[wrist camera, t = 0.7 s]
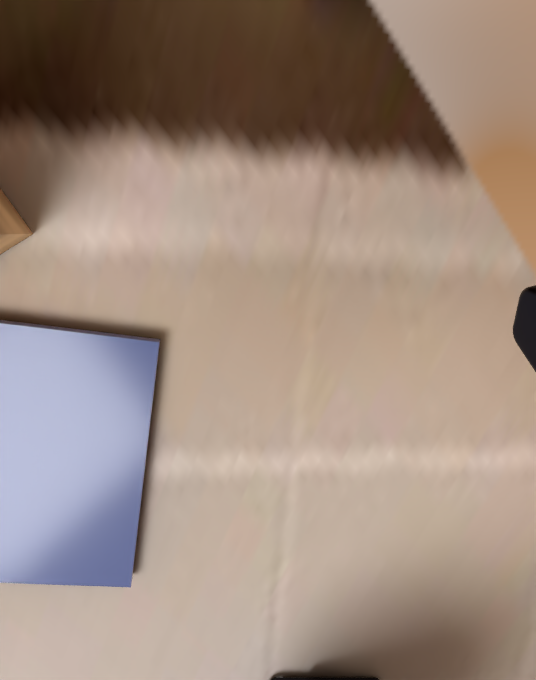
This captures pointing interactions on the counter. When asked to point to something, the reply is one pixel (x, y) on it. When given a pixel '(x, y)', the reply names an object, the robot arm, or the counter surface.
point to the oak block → (11, 225)
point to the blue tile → (72, 452)
